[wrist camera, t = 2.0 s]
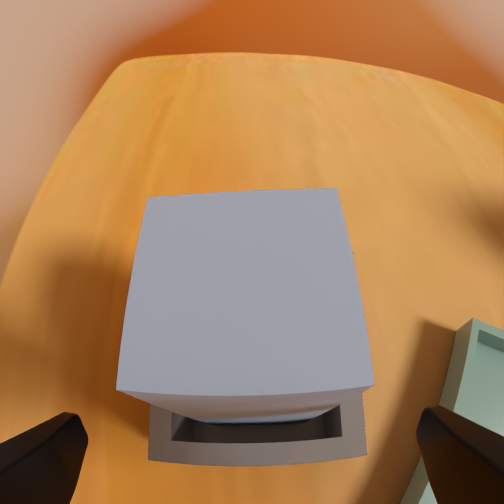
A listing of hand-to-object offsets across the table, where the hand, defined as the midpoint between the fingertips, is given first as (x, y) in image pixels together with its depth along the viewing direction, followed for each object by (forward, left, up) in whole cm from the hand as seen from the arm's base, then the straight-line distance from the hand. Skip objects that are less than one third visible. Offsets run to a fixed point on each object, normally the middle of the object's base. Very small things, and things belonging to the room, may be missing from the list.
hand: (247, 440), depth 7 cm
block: (+3, +2, -10) cm, 11 cm away
